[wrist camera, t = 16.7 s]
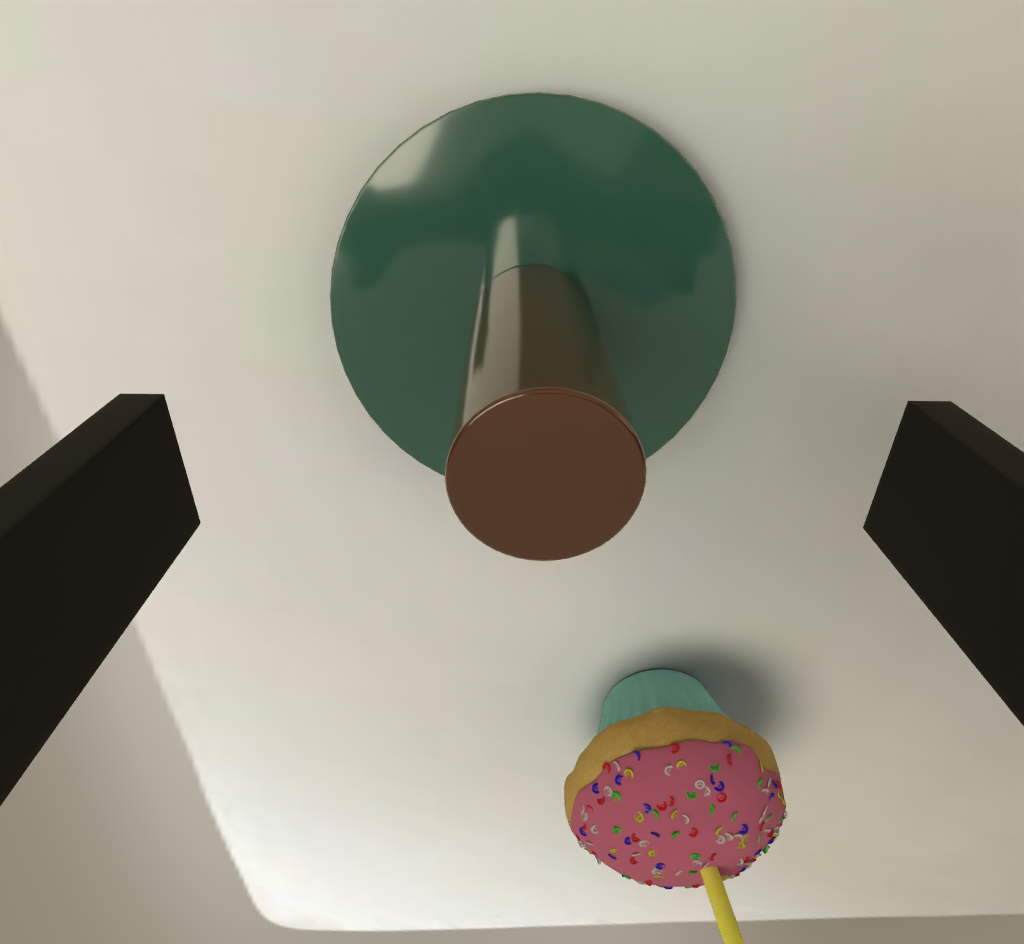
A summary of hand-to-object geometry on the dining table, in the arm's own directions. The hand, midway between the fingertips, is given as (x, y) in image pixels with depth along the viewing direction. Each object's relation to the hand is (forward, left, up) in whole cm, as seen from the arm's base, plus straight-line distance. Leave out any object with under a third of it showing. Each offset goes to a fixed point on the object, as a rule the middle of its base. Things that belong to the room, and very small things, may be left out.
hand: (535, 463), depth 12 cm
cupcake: (-18, -6, -10) cm, 21 cm away
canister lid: (0, 0, -9) cm, 9 cm away
